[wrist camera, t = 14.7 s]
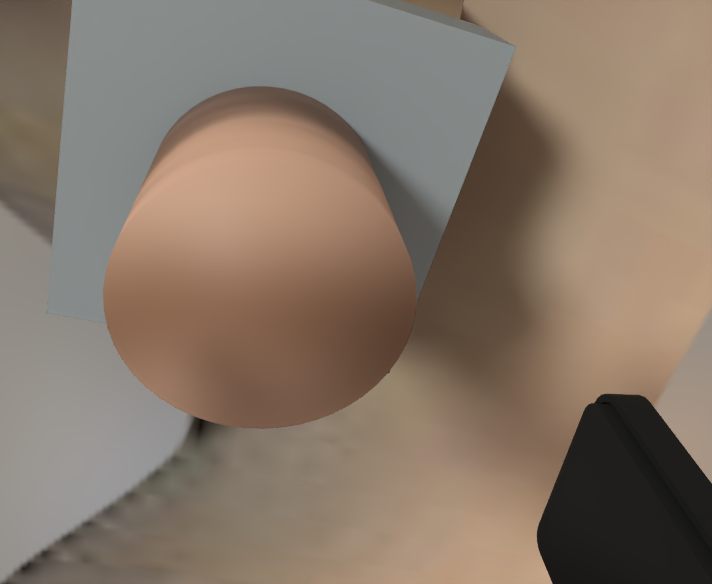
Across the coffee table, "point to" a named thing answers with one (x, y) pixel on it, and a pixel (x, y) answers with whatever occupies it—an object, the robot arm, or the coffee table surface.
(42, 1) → the coffee table surface
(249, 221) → the drum
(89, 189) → the upper slab
